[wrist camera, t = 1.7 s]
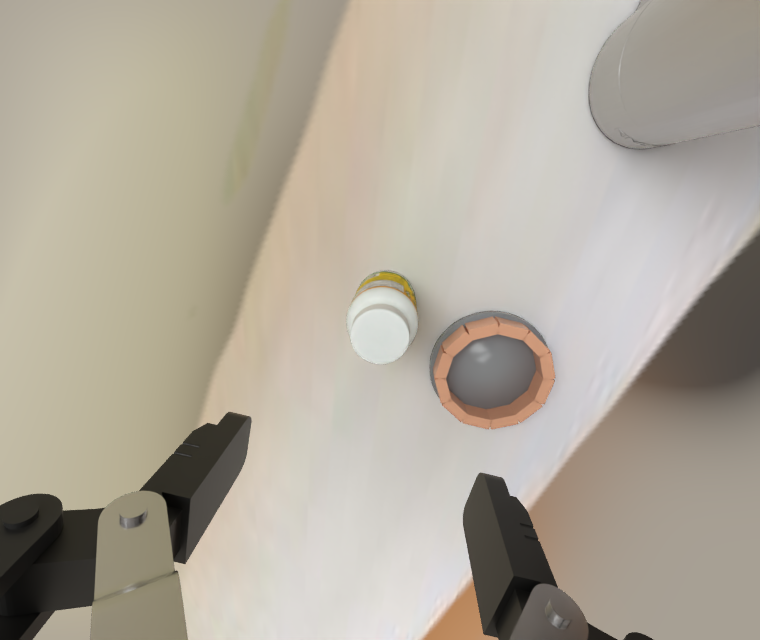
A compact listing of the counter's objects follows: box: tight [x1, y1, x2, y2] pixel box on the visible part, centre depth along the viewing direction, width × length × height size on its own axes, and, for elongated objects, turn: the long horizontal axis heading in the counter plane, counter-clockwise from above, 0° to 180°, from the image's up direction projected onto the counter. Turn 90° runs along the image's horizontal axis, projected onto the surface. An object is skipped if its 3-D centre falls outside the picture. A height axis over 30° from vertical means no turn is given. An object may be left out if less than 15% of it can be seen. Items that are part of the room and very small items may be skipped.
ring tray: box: [430, 311, 555, 429], centre depth 33 cm, size 11×11×3 cm
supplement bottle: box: [346, 271, 418, 364], centre depth 28 cm, size 5×5×10 cm
